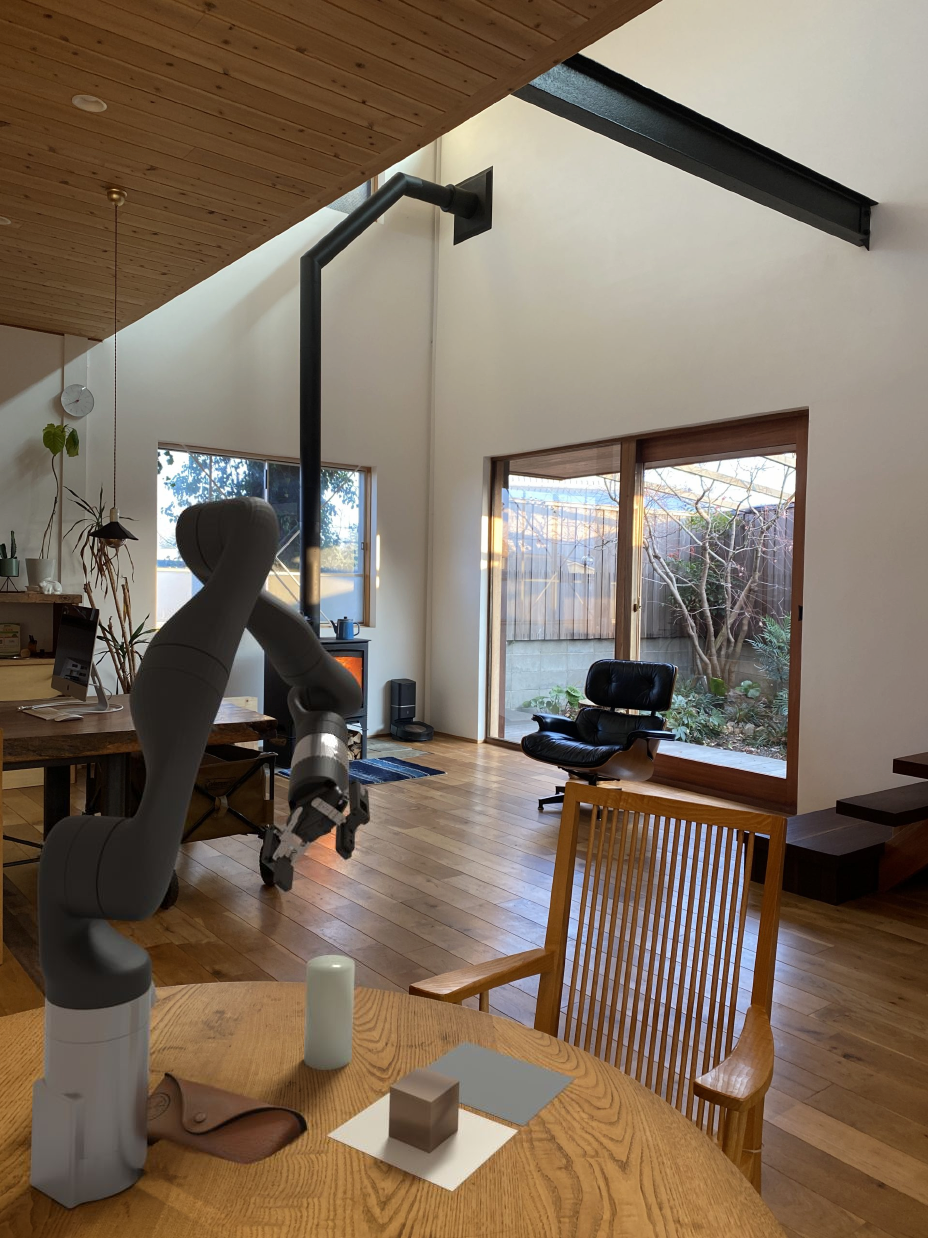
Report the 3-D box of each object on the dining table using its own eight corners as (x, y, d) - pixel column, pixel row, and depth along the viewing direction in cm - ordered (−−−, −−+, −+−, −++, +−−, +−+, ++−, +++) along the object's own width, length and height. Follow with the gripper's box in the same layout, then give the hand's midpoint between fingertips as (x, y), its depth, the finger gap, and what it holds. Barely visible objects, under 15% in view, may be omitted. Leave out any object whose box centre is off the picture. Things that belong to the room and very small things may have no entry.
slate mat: (522, 1136, 95) (523, 1126, 95) (405, 1090, 103) (405, 1082, 103) (574, 1087, 105) (575, 1078, 105) (464, 1049, 113) (464, 1041, 113)
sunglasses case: (108, 1137, 92) (133, 1065, 95) (149, 1141, 98) (172, 1072, 101) (260, 1186, 85) (282, 1106, 88) (294, 1187, 91) (315, 1112, 94)
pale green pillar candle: (329, 1083, 104) (333, 977, 104) (293, 1069, 107) (296, 965, 107) (361, 1064, 108) (364, 962, 108) (325, 1050, 111) (328, 951, 111)
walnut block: (429, 1154, 89) (431, 1102, 89) (388, 1136, 92) (389, 1086, 92) (458, 1130, 93) (459, 1081, 93) (417, 1114, 96) (419, 1066, 96)
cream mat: (451, 1202, 84) (452, 1191, 84) (326, 1145, 92) (326, 1135, 92) (517, 1141, 94) (518, 1131, 94) (399, 1094, 102) (399, 1085, 102)
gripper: (381, 768, 119) (383, 863, 106) (293, 817, 123) (283, 915, 109) (347, 732, 116) (343, 825, 102) (257, 783, 119) (242, 880, 105)
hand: (312, 871), depth 106 cm, fingers open, 8 cm apart
